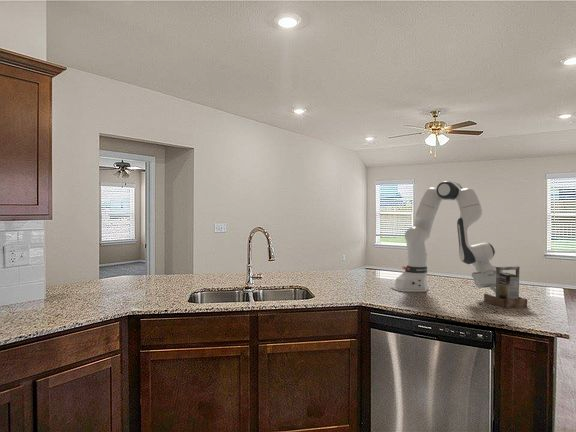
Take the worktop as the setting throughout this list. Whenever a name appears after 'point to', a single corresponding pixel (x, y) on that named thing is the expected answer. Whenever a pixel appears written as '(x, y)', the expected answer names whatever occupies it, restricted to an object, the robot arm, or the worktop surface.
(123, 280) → the worktop surface
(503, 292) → the coffee box
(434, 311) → the worktop surface
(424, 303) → the worktop surface
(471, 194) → the robot arm
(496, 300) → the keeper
